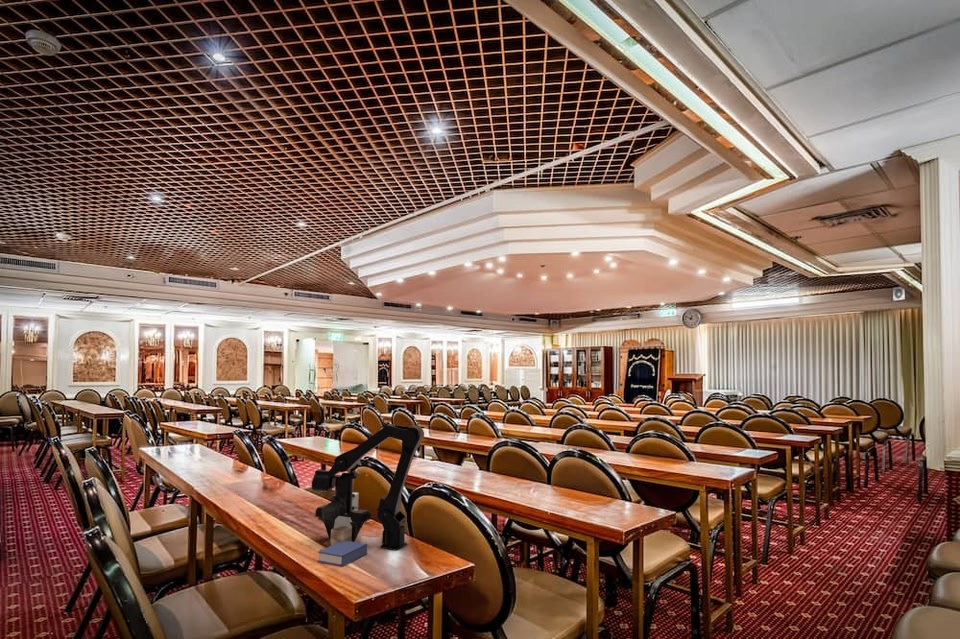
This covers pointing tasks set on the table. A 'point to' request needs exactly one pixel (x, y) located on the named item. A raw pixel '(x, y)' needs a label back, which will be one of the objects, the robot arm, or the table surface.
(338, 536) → the beech block
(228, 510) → the table surface
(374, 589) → the table surface
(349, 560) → the navy book
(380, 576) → the table surface
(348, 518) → the supplement box
